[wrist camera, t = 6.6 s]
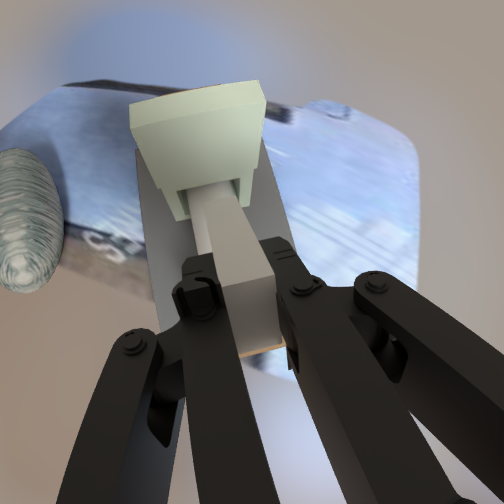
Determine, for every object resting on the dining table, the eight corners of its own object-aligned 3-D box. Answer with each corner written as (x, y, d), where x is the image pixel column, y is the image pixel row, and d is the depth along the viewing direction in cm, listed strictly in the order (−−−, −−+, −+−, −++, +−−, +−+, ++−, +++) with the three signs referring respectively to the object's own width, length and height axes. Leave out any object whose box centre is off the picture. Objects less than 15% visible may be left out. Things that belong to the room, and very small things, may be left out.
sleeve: (173, 222, 23) (129, 128, 12) (166, 176, 24) (128, 71, 13) (252, 205, 24) (266, 102, 13) (240, 161, 25) (245, 49, 14)
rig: (173, 368, 25) (145, 381, 16) (139, 157, 29) (113, 102, 21) (314, 335, 26) (349, 333, 18) (256, 133, 31) (264, 73, 22)
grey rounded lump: (-21, 182, 24) (-41, 141, 16) (52, 164, 30) (54, 119, 22) (-2, 305, 25) (-26, 304, 16) (75, 282, 30) (80, 273, 22)
